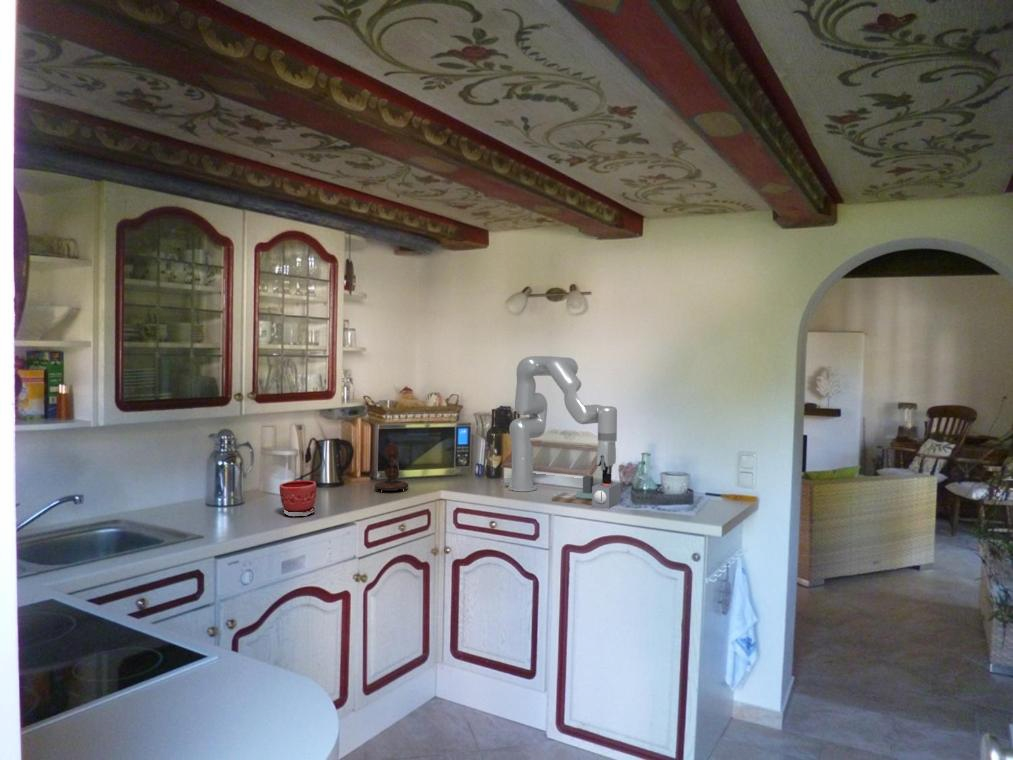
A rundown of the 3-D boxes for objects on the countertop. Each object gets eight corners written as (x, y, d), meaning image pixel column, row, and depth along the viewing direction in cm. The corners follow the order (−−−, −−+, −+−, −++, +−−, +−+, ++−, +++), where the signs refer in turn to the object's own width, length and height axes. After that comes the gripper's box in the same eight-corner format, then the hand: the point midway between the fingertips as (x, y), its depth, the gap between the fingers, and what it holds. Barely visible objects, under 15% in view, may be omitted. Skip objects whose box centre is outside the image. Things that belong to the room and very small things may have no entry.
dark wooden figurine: (410, 492, 310) (409, 446, 309) (375, 494, 307) (375, 447, 306) (406, 486, 325) (406, 442, 324) (373, 488, 321) (373, 443, 320)
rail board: (551, 500, 294) (551, 495, 294) (560, 496, 302) (560, 491, 302) (594, 505, 285) (594, 499, 285) (602, 501, 293) (602, 495, 293)
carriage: (575, 497, 289) (576, 477, 289) (583, 493, 296) (584, 474, 296) (592, 498, 286) (592, 478, 285) (599, 495, 293) (600, 475, 293)
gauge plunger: (600, 496, 287) (601, 483, 286) (604, 494, 290) (604, 482, 290) (609, 497, 285) (609, 484, 285) (612, 495, 288) (612, 483, 288)
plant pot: (286, 511, 275) (286, 479, 274) (320, 511, 274) (320, 480, 274) (274, 519, 262) (274, 486, 261) (310, 519, 261) (310, 486, 261)
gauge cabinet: (591, 506, 282) (591, 486, 282) (604, 500, 295) (604, 480, 295) (608, 508, 279) (608, 488, 279) (621, 501, 292) (621, 482, 292)
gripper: (604, 435, 295) (604, 479, 296) (591, 438, 282) (591, 485, 282) (622, 436, 291) (622, 481, 292) (609, 440, 278) (609, 487, 279)
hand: (606, 483), depth 287 cm, fingers closed
